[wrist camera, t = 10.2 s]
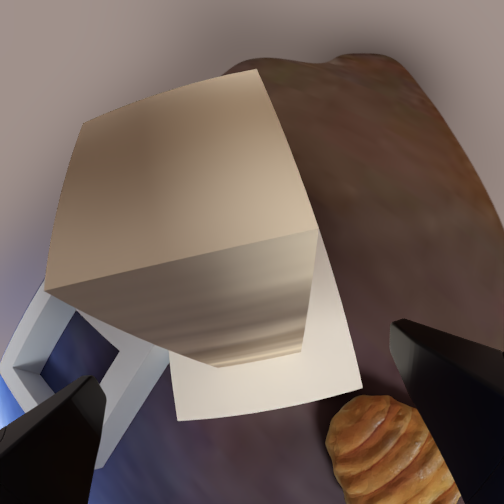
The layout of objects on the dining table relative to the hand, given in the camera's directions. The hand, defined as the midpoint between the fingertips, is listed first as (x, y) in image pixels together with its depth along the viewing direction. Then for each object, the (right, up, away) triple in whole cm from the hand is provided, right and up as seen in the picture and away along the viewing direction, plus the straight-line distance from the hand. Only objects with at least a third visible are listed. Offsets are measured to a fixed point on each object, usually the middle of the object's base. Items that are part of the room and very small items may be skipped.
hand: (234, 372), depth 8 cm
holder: (-11, -5, +9) cm, 15 cm away
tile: (+1, -1, +9) cm, 9 cm away
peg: (0, 0, +8) cm, 8 cm away
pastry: (+8, -9, +5) cm, 13 cm away
